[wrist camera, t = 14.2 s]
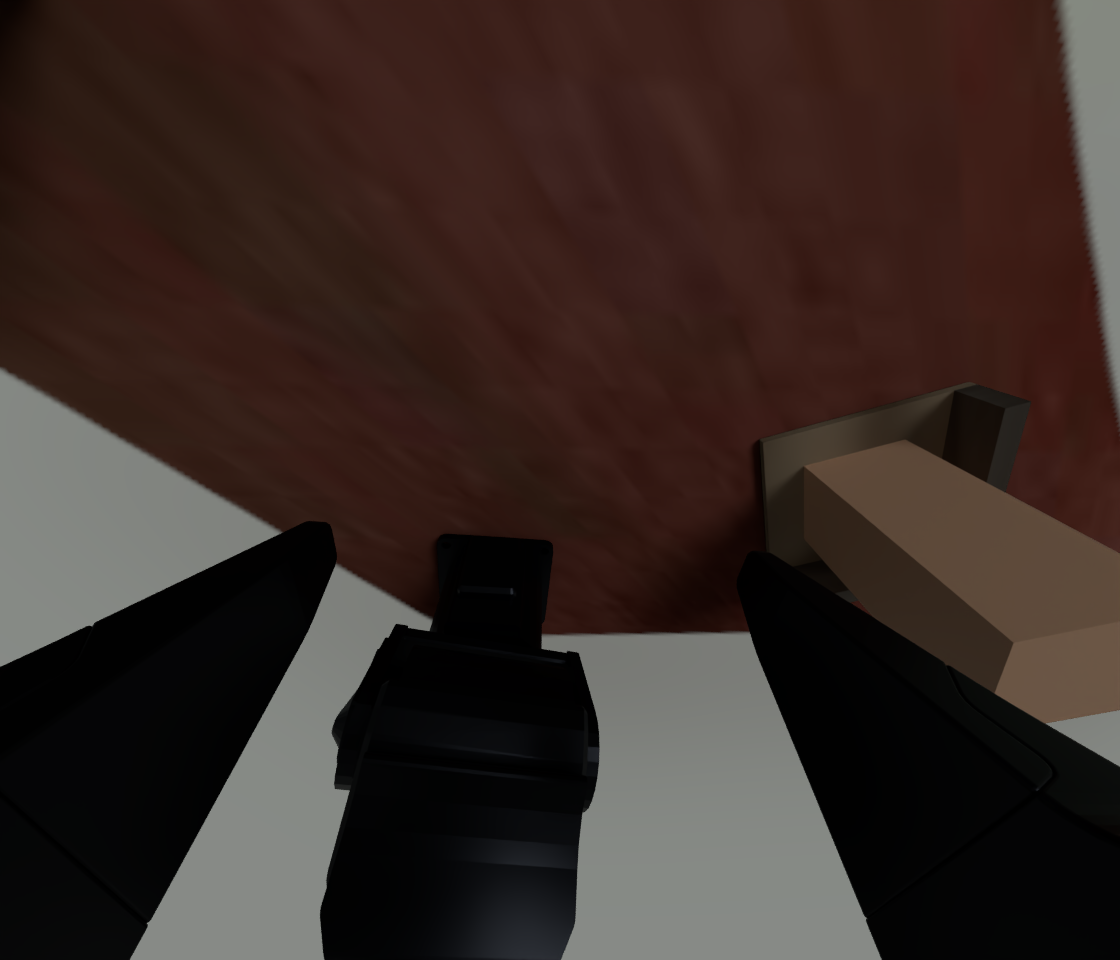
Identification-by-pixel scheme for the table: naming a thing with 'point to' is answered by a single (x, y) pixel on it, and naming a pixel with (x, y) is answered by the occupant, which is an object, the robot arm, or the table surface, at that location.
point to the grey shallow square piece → (927, 421)
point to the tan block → (972, 576)
